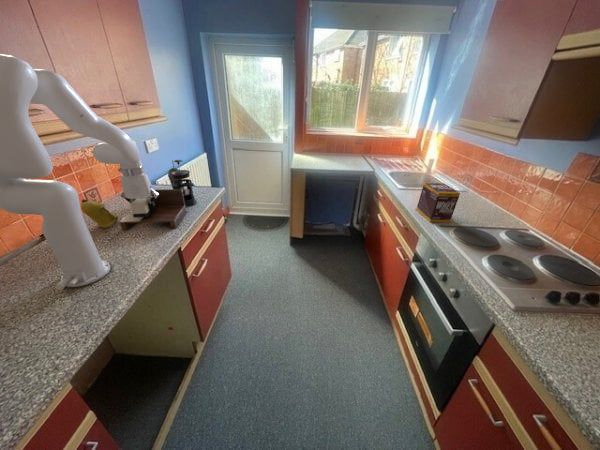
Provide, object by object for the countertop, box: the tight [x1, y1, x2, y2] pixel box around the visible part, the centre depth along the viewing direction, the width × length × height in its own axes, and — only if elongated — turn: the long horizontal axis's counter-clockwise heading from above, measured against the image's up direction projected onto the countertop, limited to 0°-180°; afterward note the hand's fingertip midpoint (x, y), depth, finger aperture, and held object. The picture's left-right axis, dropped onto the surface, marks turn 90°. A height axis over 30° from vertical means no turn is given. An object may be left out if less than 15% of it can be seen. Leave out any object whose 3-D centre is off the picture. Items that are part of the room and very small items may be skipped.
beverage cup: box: [167, 160, 183, 190], centre depth 138 cm, size 7×7×20 cm
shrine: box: [80, 199, 119, 229], centre depth 105 cm, size 12×8×15 cm
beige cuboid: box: [129, 198, 157, 217], centre depth 110 cm, size 12×5×6 cm, turn 7°
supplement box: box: [416, 182, 461, 223], centre depth 125 cm, size 10×15×16 cm
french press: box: [171, 159, 197, 207], centre depth 127 cm, size 12×9×23 cm
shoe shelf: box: [119, 188, 187, 231], centre depth 112 cm, size 17×22×12 cm
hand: (144, 210), depth 110 cm, fingers closed on beige cuboid, 5 cm apart
